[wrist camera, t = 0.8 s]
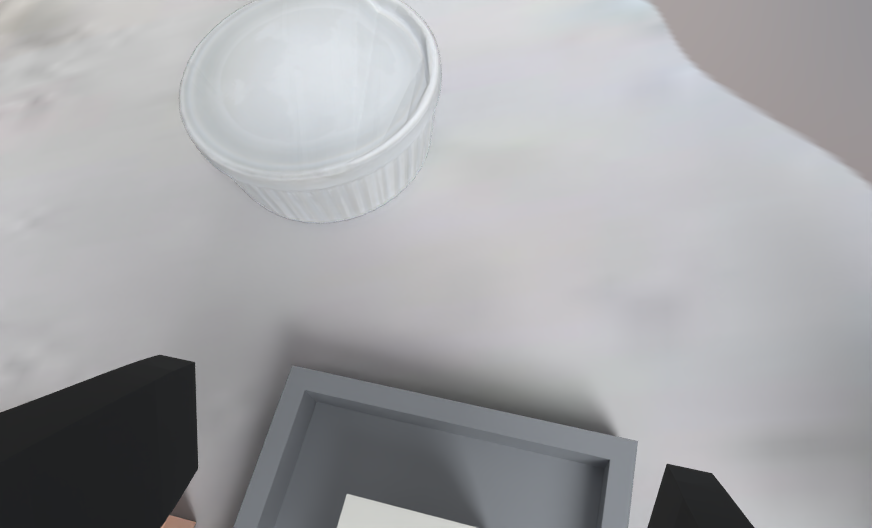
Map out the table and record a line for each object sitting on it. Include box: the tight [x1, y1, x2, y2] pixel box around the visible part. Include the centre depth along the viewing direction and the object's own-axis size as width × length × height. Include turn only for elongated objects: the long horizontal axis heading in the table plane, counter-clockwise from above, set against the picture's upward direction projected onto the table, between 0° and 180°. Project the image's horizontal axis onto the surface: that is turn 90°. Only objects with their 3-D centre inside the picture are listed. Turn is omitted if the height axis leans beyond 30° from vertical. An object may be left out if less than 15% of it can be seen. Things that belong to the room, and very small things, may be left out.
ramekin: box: [179, 0, 442, 223], centre depth 30 cm, size 11×11×5 cm
